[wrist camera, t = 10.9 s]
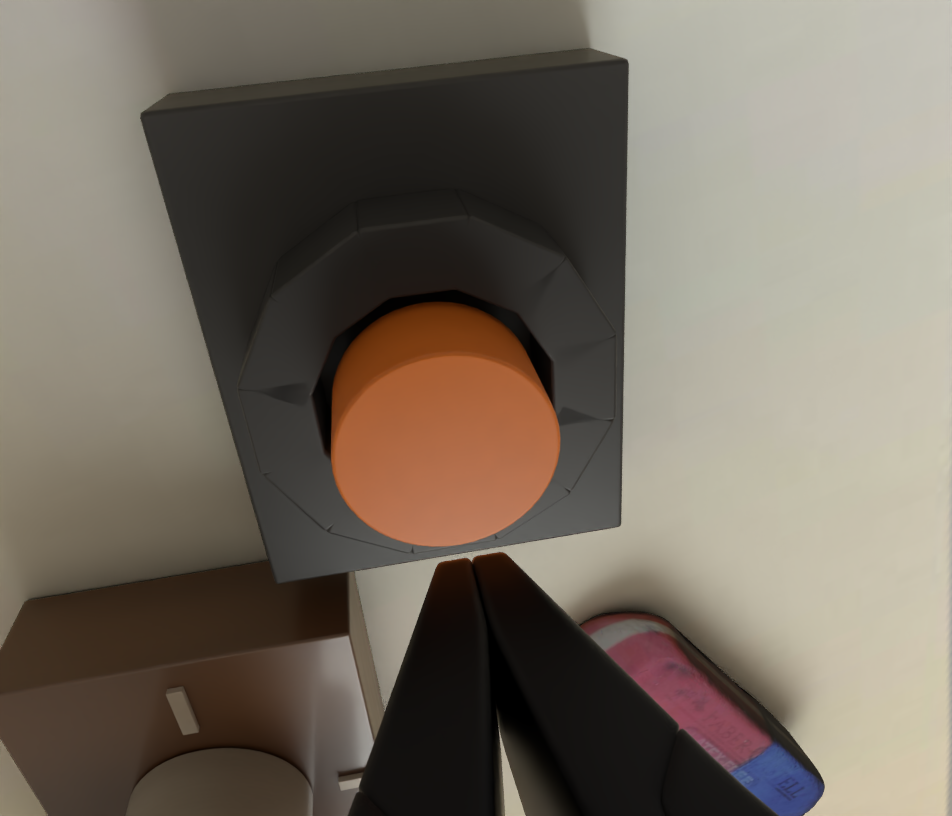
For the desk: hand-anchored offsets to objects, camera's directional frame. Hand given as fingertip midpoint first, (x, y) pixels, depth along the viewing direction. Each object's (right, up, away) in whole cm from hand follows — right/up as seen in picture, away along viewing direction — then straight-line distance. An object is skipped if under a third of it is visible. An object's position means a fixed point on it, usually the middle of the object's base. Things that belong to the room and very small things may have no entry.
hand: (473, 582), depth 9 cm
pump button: (-1, +2, +4) cm, 5 cm away
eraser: (+7, -7, +15) cm, 18 cm away
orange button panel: (-1, +4, +7) cm, 8 cm away
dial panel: (-7, -6, +12) cm, 15 cm away
